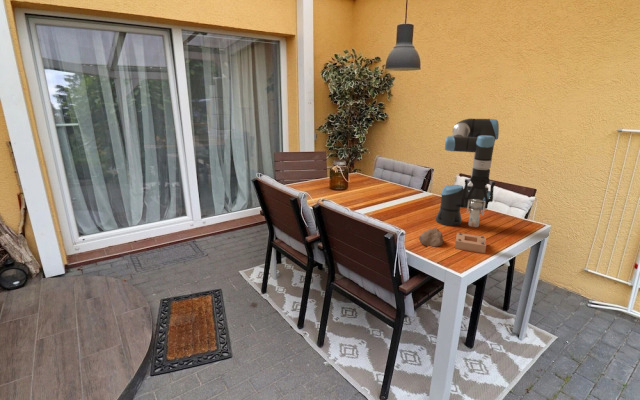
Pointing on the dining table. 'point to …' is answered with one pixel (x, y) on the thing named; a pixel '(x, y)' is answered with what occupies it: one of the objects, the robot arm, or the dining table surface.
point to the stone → (431, 238)
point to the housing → (470, 242)
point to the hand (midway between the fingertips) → (475, 213)
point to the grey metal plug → (475, 212)
